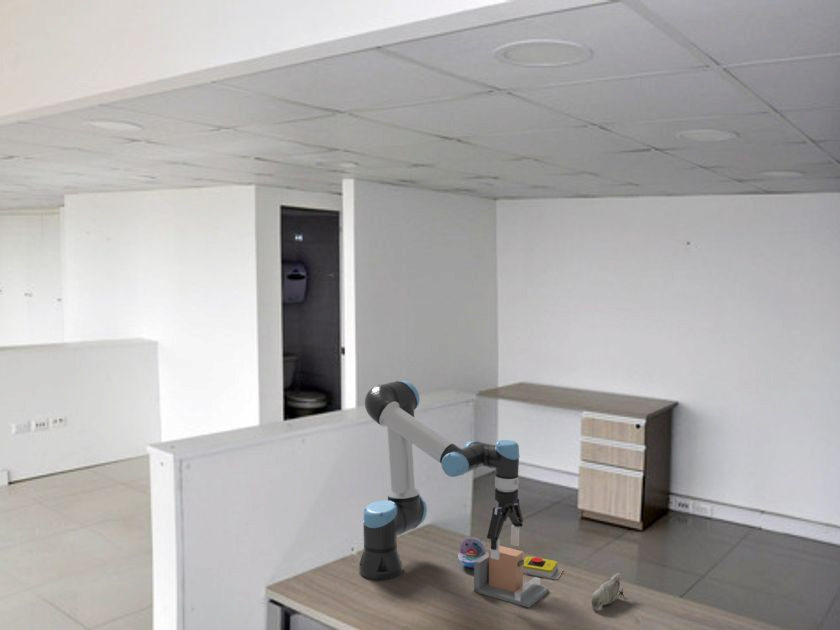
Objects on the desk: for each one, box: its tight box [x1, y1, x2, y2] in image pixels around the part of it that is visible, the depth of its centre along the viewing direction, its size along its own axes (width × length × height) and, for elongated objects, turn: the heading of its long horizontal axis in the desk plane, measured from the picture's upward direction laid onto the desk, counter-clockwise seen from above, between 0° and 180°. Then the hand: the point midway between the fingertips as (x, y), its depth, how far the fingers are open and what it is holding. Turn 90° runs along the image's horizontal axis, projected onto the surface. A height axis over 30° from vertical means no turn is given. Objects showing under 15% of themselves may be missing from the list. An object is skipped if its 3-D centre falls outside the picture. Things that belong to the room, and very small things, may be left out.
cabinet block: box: [488, 545, 524, 592], centre depth 240 cm, size 11×5×12 cm, turn 55°
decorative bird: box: [590, 572, 625, 613], centre depth 231 cm, size 5×16×7 cm, turn 137°
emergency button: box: [523, 555, 564, 580], centre depth 255 cm, size 9×4×15 cm
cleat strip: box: [515, 576, 541, 601], centre depth 236 cm, size 2×14×2 cm, turn 145°
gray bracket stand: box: [473, 551, 549, 608], centre depth 239 cm, size 20×14×10 cm
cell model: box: [457, 537, 488, 569], centre depth 259 cm, size 10×12×10 cm
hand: (505, 551), depth 240 cm, fingers open, 13 cm apart
